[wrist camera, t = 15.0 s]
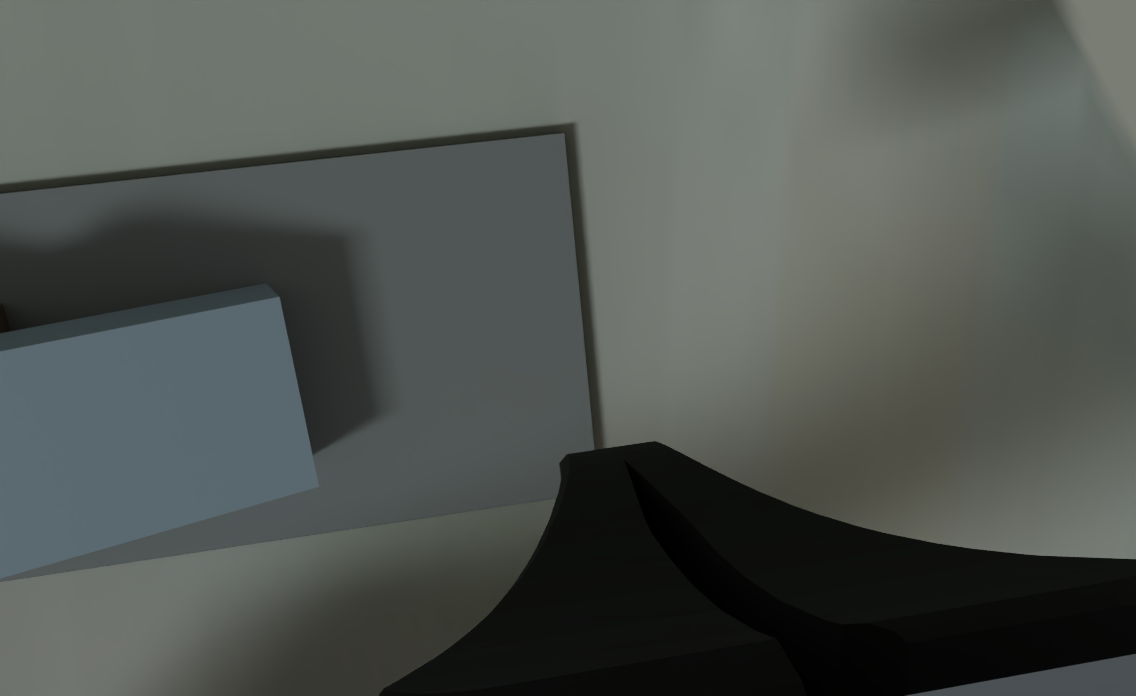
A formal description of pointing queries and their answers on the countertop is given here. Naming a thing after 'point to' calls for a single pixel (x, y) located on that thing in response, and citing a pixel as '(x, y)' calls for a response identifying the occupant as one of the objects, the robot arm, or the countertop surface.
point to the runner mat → (350, 317)
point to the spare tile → (145, 423)
